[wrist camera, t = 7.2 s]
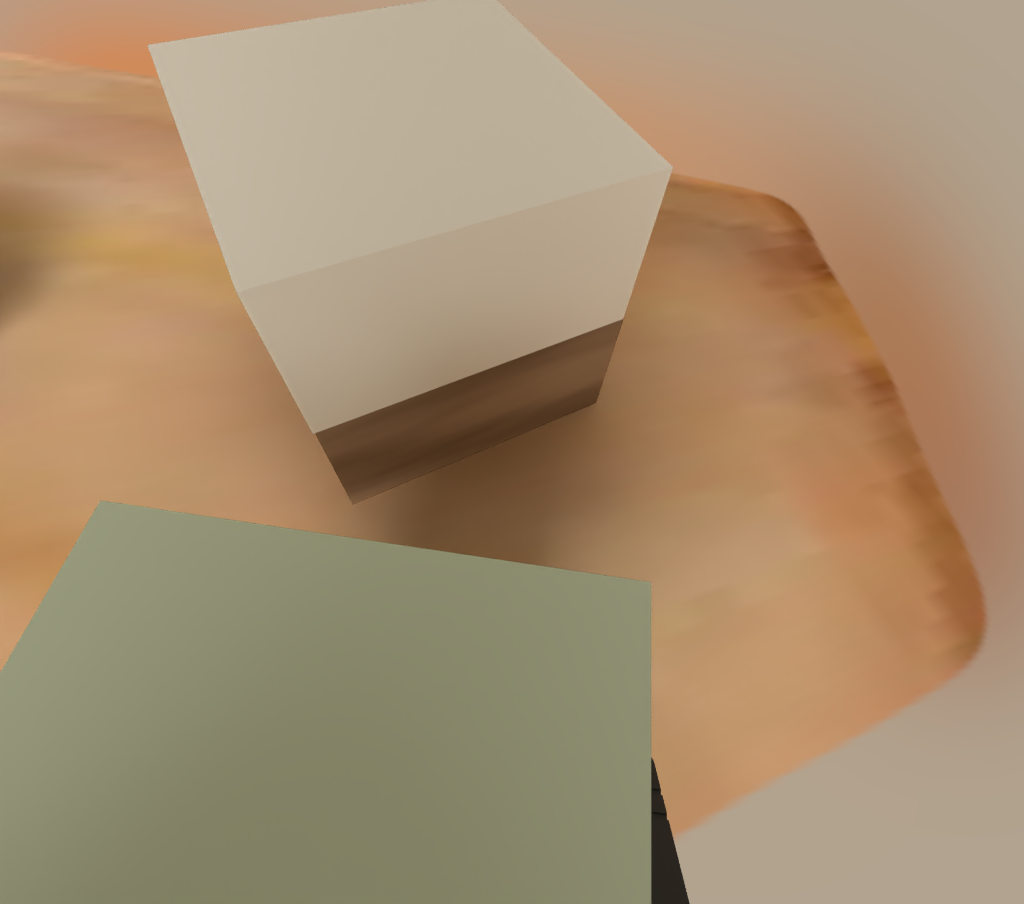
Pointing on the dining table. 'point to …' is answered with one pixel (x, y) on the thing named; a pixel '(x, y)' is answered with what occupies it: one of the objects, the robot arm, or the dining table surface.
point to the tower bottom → (468, 414)
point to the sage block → (322, 724)
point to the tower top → (409, 195)
